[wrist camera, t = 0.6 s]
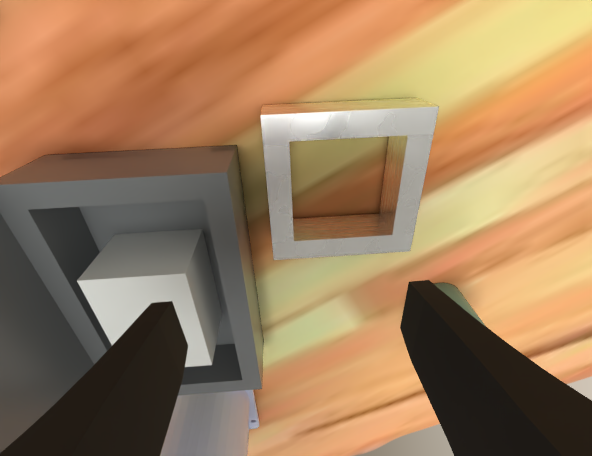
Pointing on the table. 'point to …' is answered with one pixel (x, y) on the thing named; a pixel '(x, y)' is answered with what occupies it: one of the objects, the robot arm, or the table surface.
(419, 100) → the white square frame
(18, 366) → the case
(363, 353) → the table surface
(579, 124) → the table surface
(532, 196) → the table surface
